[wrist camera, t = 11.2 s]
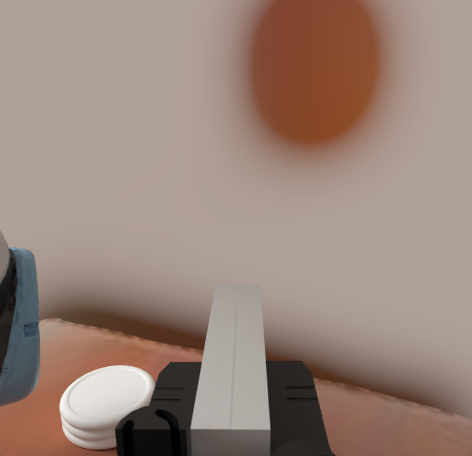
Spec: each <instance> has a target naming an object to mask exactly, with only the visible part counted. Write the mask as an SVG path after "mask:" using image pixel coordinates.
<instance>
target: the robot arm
mask: <svg viewBox="0 0 472 456" xmlns="http://www.w3.org/2000/svg"><path fill="white" fill-rule="evenodd" d="M262 317H263V316H262V302H261V288H260V285H216V286H215V291H214V297H213V303H212V309H211V314H210V320H209V326H208V332H207V337H206V343H205V349H204V354H203V360H202V362H170V363H169V364H168V365H167V366H166V367H165V368H164V369H163V370H162V371H161V372H160V373H159V375H158V379H157V382H156V385H155V390H154V391H153V394H152V397H151V402H150V403H149V406H144V407H142V408H139V409H136V410H134V411H132V412H130V413H129V414H128V415H126V416H125V417H124V418H122V419H121V420H120V422H119V423H118V425H117V426H116V428H115V436H116V445H117V453H118V456H335V455H334V454H333V453H332V452H331V449H330V447H329V444H328V439H327V435H326V431H325V427H324V423H323V418H322V414H321V410H320V406H319V401H318V397H317V393H316V389H315V385H314V380H313V376H312V373H311V372H310V370H309V369H308V368H307V367H306V366H305V365H304V364H303V363H302V361H266V360H265V346H264V331H263V318H262ZM38 325H39V302H38V286H37V273H36V264H35V258H34V255H33V253H32V252H31V251H30V250H27V249H18V248H16V247H13V248H8V245H7V243H6V240H5V238H4V236H3V234H2V233H1V232H0V407H1V406H5V405H8V404H11V403H14V402H17V401H20V400H23V399H25V398H26V397H27V396H29V395H30V394H31V393H32V392H33V391H34V389H35V388H36V386H37V384H38V380H39V374H40V334H39V328H38Z"/></svg>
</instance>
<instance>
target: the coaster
mask: <svg viewBox="0 0 472 456" xmlns="http://www.w3.org/2000/svg"><path fill="white" fill-rule="evenodd" d="M154 390H155V382H154V380H153V378H152V376H151V375H150V374H149V373H147V372H146V371H144V370H142V369H139V368H136V367H132V366H124V365H119V366H109V367H104V368H101V369H97V370H94V371H92V372H90V373H87V374H85V375H84V376H82V377H80V378H79V379H77V380H76V381H75V382H74V383H72V384H71V385H70V386H69V387H68V388H67V390H66V391H65V392H64V394H63V396H62V398H61V402H60V413H61V421H62V426H63V432H64V434H65V436H66V437H67V438H68V440H69V441H70V442H72V443H73V444H75V445H77V446H79V447H82V448H86V449H93V450H101V449H109V448H114V447H117V445H116V436H115V428H116V426H117V425H118V423H119V422H120V420H121V419H122V418H124V417H125V416H126V415H128V414H129V413H130V412H132V411H134V410H136V409H139V408H142V407H144V406H149V403H150V402H151V397H152V394H153V391H154Z"/></svg>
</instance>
